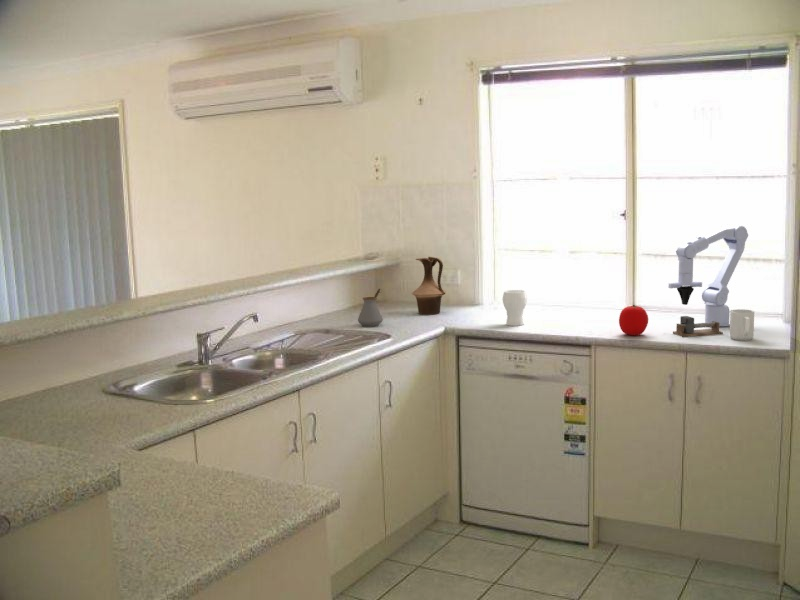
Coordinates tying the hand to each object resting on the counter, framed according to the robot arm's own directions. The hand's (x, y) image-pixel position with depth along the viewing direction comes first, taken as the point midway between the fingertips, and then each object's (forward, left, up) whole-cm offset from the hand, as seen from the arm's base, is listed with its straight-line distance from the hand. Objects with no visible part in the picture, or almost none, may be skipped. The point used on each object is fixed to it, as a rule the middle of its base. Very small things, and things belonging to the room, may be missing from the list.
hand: (684, 304), depth 361 cm
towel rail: (+1, +12, -10) cm, 16 cm away
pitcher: (+93, -77, -11) cm, 121 cm away
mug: (-9, +28, -11) cm, 31 cm away
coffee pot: (+124, -59, -11) cm, 138 cm away
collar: (+6, +12, -9) cm, 16 cm away
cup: (+64, -34, -11) cm, 73 cm away
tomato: (+26, +5, -11) cm, 28 cm away
